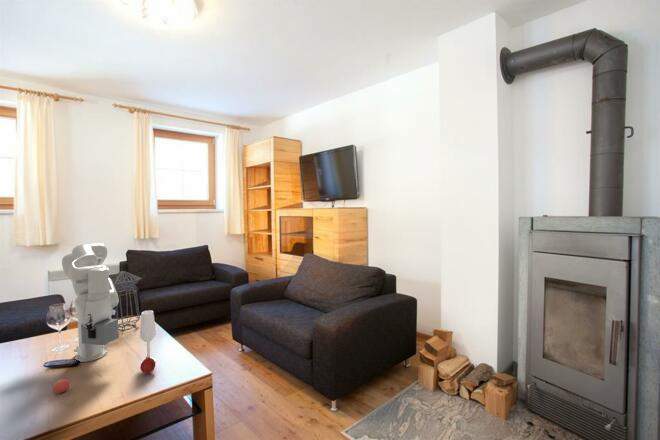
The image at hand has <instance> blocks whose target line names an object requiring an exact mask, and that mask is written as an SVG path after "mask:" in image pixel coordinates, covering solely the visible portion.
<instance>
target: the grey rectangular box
mask: <svg viewBox="0 0 660 440" xmlns="http://www.w3.org/2000/svg"><path fill="white" fill-rule="evenodd" d="M118 319H119V318H118ZM118 319H117V318H113V319H106V320H103V321H101V322H98V323H96V325H95V328H94V329H95V330H96V338H95V339H91V338H88V330H87V329H86V328H84V326H83V325H82V324H81V335H82V344H94V345H103V346H105V345H106V346H107V345H108V344H110V343H111V342H113V341H115V340H117V339H119V337H120V336H119V330H118V329H119V328H118V324H119V320H118ZM92 322H93V321H92ZM92 325H93V324H91V326H92Z"/></svg>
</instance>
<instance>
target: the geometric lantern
mask: <svg viewBox="0 0 660 440" xmlns="http://www.w3.org/2000/svg"><path fill="white" fill-rule="evenodd" d="M109 278H110V279H111V280H112V282H113V284H114V287H115V288H116V286H117V285H118V286H120V287H122V288H123V289H122V290H120V291H118V293H119V294H118V298H119V304H118V305H119V307H120V316H121V317H120V318H119V317H118V315H119V314H118V313H119V312H118V309H119V308H118V305H117V306H116V319H118V321H119V320H121V323H118V331H123V332H124V331H127V330H129V329H134V328H135V327H137V324H136V323H137V322H139V320H141V315H140V309H139V300H138V299H139V298H138V293H137V292H138V290H136V289H135V288H134V286H136V284H138V282H139V281H140V280H142V279H143V278H142V277H140V276H138V275H135V274H133V273H130V272H128V271H126V270H125V271H123V270H121V271H119V272H118V273H116V274H114V275H112V276H111V277H109ZM126 280H127V281H126ZM126 283H130V285H127V284H126ZM123 284H124V285H123ZM133 285H134V286H133ZM126 288H129V289H126ZM131 291H132V292H131ZM122 292H125V293H124V294H122ZM131 294H133V297H134V303H135V311H136V315H137V316H136V315H133V306H132V299H131ZM128 295H129V302H130V303H129V304H130V311H131V315H129V311H128V307H129V306H128ZM121 296H125V298H126V299H125V300H126V316H123V311H122V310H123V309H122V308H123V307H122V299H121ZM112 309H113V310H114V308H112ZM129 317H130V318H129ZM125 318H126V321H124V320H123V319H125ZM128 318H129V319H128ZM133 318H137V319H134V320H132V319H133ZM128 326H132V327H129V328H126V327H128ZM120 328H121V329H120Z"/></svg>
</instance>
